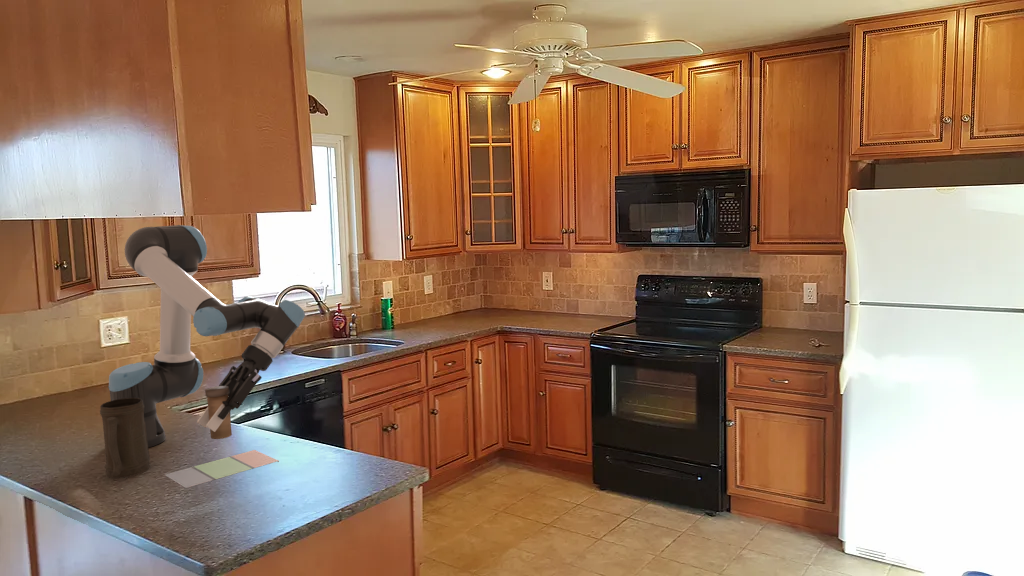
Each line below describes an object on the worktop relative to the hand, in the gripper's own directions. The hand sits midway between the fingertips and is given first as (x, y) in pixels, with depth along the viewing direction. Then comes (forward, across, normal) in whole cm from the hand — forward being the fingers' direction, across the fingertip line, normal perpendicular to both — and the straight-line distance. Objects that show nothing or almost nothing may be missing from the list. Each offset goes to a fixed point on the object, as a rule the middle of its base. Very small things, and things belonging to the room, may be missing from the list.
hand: (205, 426), depth 182 cm
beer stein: (+20, +17, +1) cm, 26 cm away
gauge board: (+7, +1, -12) cm, 14 cm away
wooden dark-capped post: (0, 0, -5) cm, 5 cm away
